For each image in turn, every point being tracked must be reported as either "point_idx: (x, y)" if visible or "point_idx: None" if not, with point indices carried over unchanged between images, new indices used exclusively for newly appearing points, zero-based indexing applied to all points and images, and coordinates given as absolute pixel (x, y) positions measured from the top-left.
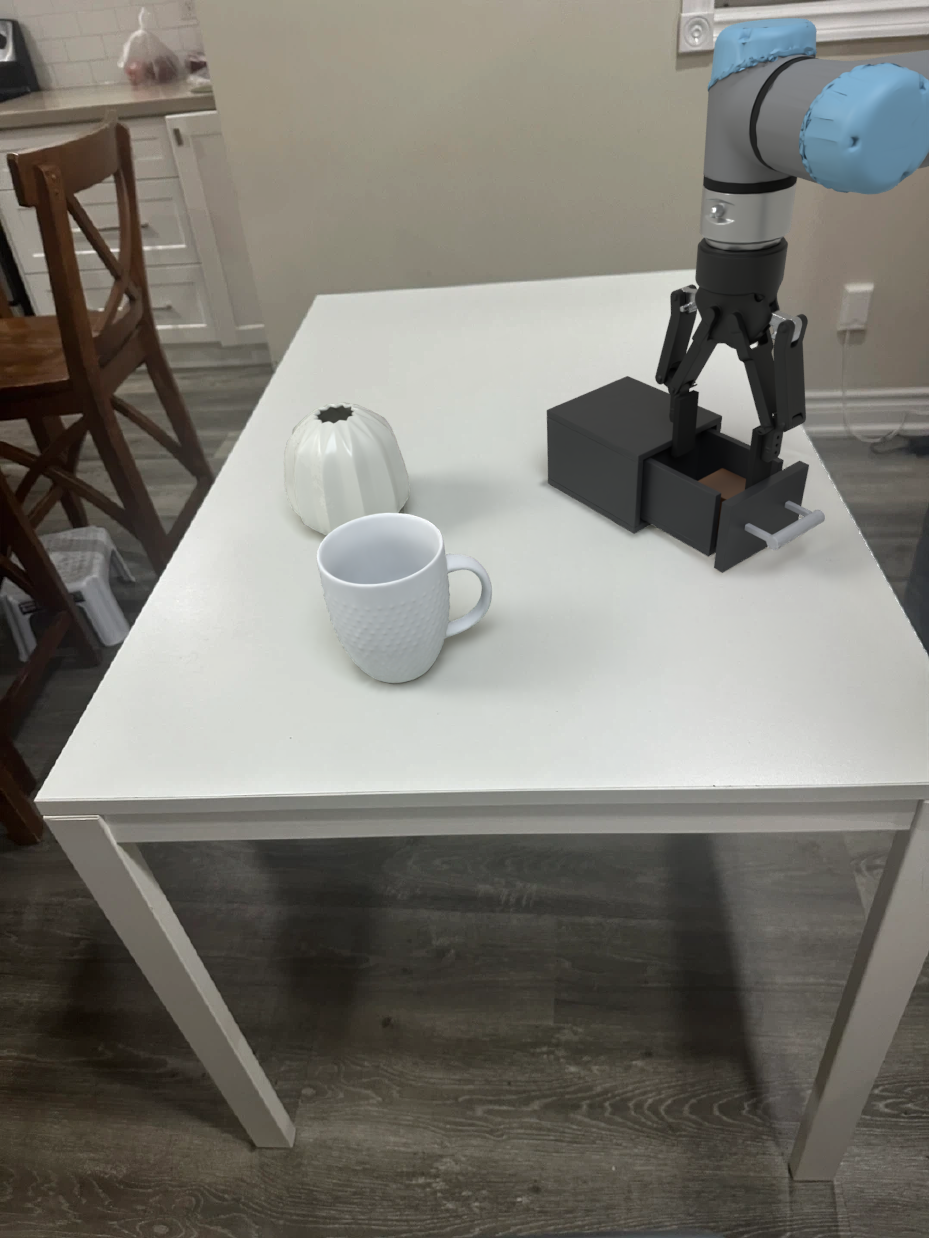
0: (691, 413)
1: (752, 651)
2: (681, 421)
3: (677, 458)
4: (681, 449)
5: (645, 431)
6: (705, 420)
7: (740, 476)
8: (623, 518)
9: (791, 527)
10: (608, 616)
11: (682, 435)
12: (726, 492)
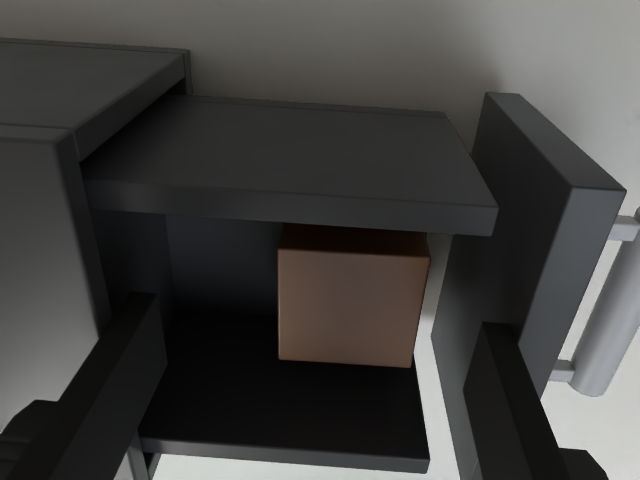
0: (88, 455)
1: (594, 419)
2: (106, 476)
3: (121, 271)
4: (155, 363)
5: (10, 417)
6: (50, 231)
7: (359, 253)
8: None
9: (621, 344)
10: (360, 472)
11: (133, 408)
12: (385, 345)
